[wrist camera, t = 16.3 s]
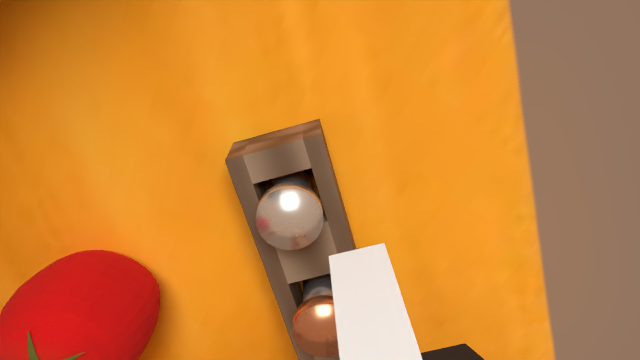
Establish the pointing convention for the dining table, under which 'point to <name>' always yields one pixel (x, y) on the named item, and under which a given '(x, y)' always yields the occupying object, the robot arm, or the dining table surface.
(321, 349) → the plug mid terracotta
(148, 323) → the tomato
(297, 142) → the brown long block
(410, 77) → the dining table surface
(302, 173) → the cream plug
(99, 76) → the dining table surface
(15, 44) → the dining table surface
